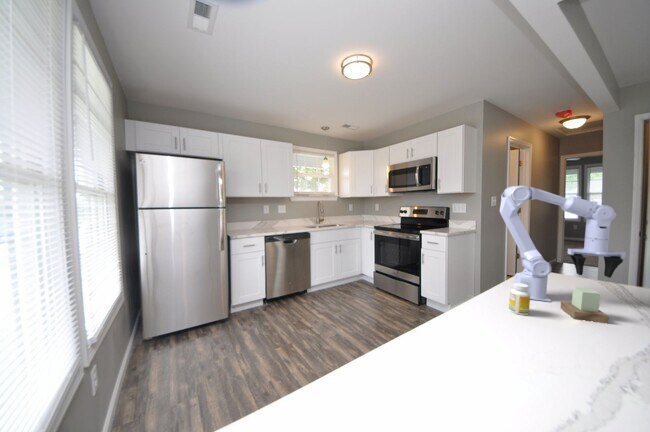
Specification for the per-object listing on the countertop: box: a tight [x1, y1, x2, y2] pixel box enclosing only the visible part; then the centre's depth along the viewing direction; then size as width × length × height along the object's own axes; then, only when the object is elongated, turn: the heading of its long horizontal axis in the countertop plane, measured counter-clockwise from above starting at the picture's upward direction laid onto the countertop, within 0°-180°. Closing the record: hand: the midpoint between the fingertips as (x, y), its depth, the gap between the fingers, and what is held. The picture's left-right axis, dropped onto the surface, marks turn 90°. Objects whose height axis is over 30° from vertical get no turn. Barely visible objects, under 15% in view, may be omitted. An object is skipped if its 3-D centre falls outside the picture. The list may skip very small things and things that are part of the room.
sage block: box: [571, 286, 601, 312], centre depth 80 cm, size 4×4×6 cm
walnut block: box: [560, 301, 609, 325], centre depth 80 cm, size 8×8×3 cm
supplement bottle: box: [508, 282, 531, 316], centre depth 83 cm, size 5×5×10 cm
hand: (593, 275), depth 88 cm, fingers open, 7 cm apart
